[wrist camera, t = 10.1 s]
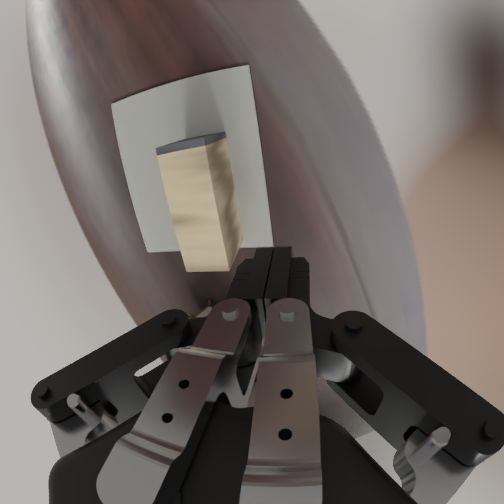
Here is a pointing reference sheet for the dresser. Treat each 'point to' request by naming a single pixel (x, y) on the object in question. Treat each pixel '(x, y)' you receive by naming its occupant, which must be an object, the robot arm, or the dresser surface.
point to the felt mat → (187, 126)
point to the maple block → (202, 201)
